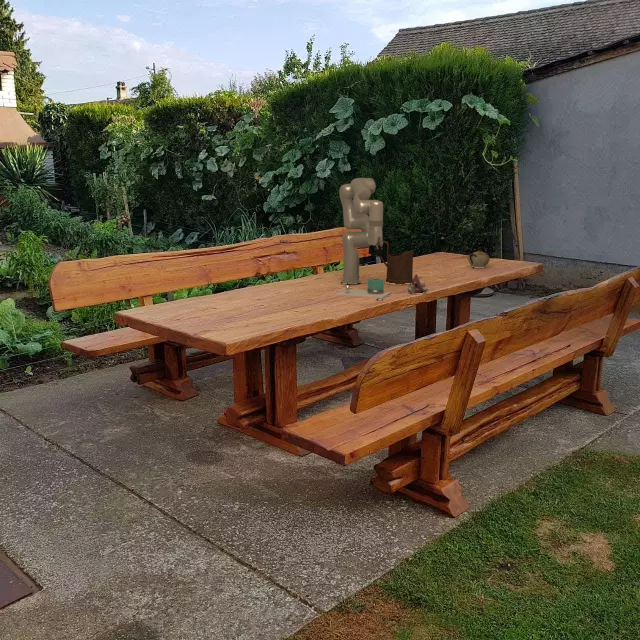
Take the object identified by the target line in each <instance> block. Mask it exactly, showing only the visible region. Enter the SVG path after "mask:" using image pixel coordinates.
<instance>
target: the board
mask: <svg viewBox="0 0 640 640" xmlns="http://www.w3.org/2000/svg"><path fill="white" fill-rule="evenodd" d="M367 290H368V289H355V288H349V293H348V294H347V293H346V288H345V289H343V290H340V291H339V292H337V293H335V295H339V296H340V295H341V296H354V297H355V296H356V297H366V298H367V297H368V298H377V299H383V298H385V297H387V296H388V295H390V294H392V293H393V292H392V291H387V290H386V291H385V290H384V293H383V294H369V293H367ZM390 296H391V295H390ZM388 297H389V296H388ZM388 297H387V298H388ZM385 299H386V298H385ZM383 300H384V299H383Z"/></svg>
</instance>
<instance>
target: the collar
mask: <svg viewBox="0 0 640 640" xmlns="http://www.w3.org/2000/svg"><path fill="white" fill-rule="evenodd" d="M384 284H385V281H384V279H382V278H379V277H377V278H376V277H375V278H368V279H367V290H368V289H370V290H373V291H374V290H383V289H384Z"/></svg>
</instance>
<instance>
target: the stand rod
mask: <svg viewBox="0 0 640 640" xmlns="http://www.w3.org/2000/svg"><path fill="white" fill-rule="evenodd" d="M345 289H346V293H347V294H348V293H349V289H350V285H347V284H345Z"/></svg>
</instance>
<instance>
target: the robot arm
mask: <svg viewBox="0 0 640 640" xmlns="http://www.w3.org/2000/svg"><path fill="white" fill-rule="evenodd" d="M376 188H377V187H376V182H375V180H374V178H372V177H357V178H354V179H352V180H351V181H350V183H344V184H341V186H340V188H339V191H338V192H339V199H340V202H341V205H342V215H343V226H344V228H345V230H355V231H346V232H344V233H343V234H342V238H341V241H342V248H343V249H342V250H343V280H341V281H340V283H341V282H342V283H349V284H355V283H361V284H362V281H361V280H360V279H359V278H360V254H359V251H358V249H356V248H367V247H368V255H375V257H377V258H380V257H383V256H382V255H383V245H384V242H383V241H384V240H383V226H384V203H383V201H380V200H379V199H370V198H371V195H372V194H373V193H375V191H376ZM357 230H361V231H357ZM375 247H376V249H375ZM342 283H341V284H342Z"/></svg>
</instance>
